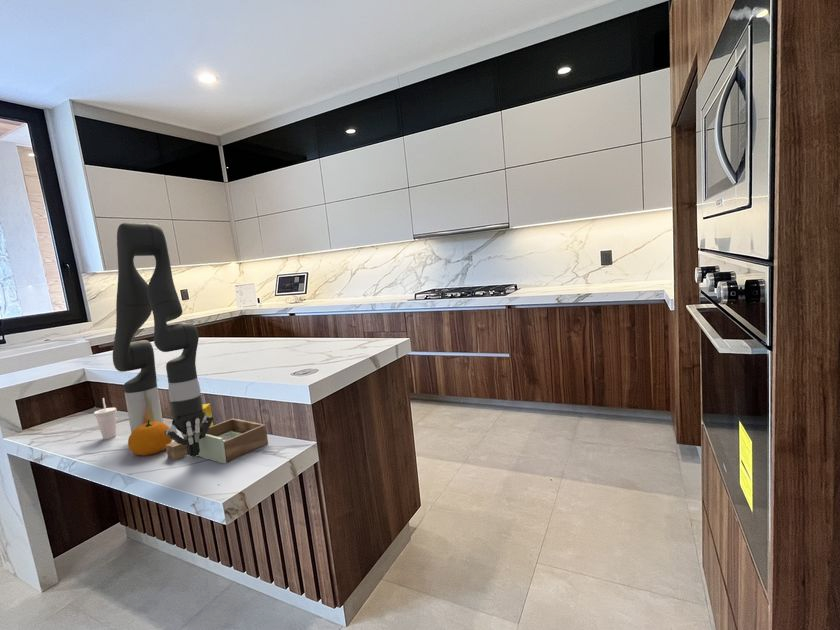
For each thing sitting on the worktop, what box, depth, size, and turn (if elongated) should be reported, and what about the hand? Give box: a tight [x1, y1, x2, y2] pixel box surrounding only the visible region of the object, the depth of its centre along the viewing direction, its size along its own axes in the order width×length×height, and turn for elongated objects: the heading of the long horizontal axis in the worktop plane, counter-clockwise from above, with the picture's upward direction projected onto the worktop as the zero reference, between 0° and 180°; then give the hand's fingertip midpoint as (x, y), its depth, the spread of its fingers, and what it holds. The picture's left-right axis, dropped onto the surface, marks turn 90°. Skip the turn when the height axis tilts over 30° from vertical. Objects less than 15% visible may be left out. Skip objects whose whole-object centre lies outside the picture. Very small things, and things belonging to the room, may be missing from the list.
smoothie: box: [93, 397, 118, 440], centre depth 147 cm, size 6×6×14 cm
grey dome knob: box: [220, 436, 233, 441], centre depth 125 cm, size 6×6×2 cm
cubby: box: [206, 418, 269, 463], centre depth 128 cm, size 17×14×6 cm
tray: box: [196, 431, 242, 464], centre depth 126 cm, size 17×13×7 cm
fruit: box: [127, 420, 173, 456], centre depth 131 cm, size 12×12×10 cm
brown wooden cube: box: [165, 441, 189, 461], centre depth 125 cm, size 4×4×4 cm
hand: (194, 455), depth 118 cm, fingers closed
